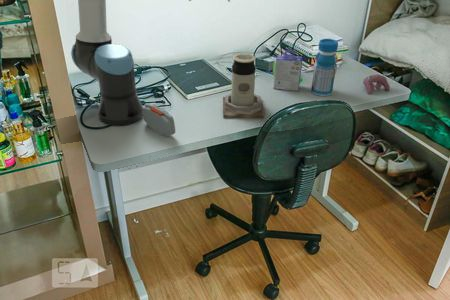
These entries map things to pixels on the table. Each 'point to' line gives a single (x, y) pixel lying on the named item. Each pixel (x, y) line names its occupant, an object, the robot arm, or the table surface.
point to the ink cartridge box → (287, 71)
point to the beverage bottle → (325, 68)
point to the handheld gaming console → (158, 120)
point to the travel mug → (243, 80)
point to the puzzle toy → (274, 67)
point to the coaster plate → (242, 109)
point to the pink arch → (379, 81)
